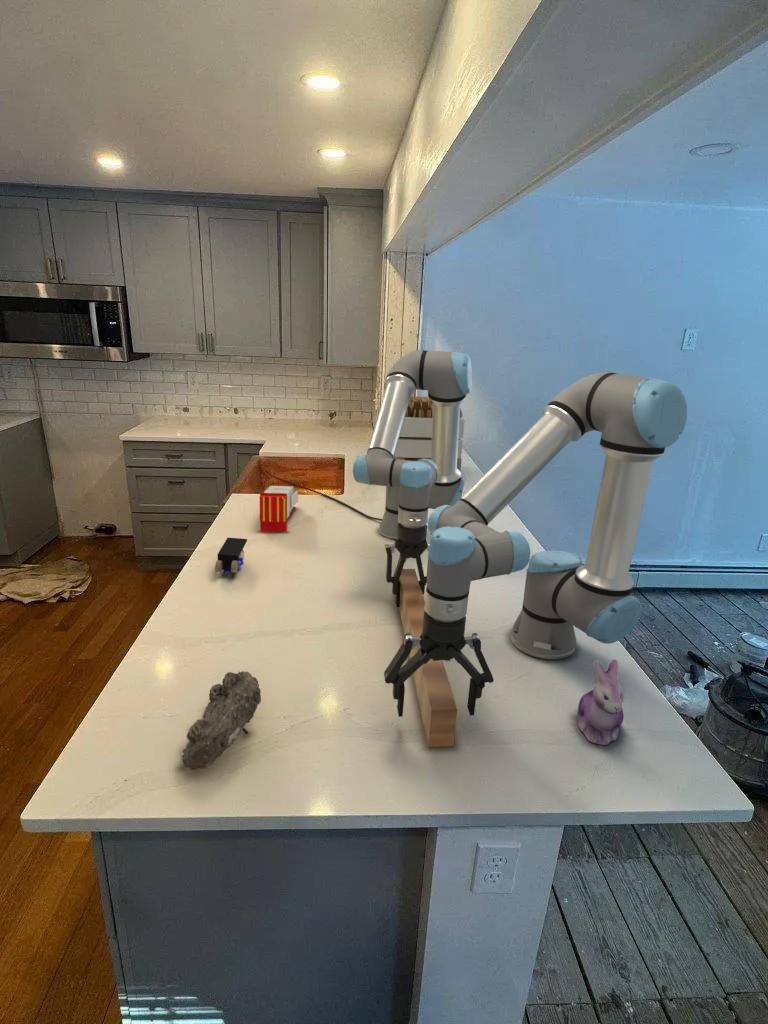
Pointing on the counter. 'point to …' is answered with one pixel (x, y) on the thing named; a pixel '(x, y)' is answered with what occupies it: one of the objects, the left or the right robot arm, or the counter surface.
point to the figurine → (602, 706)
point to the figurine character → (230, 556)
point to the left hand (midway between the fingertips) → (407, 604)
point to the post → (427, 669)
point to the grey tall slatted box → (421, 432)
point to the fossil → (222, 719)
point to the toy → (277, 507)
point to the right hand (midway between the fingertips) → (435, 711)
